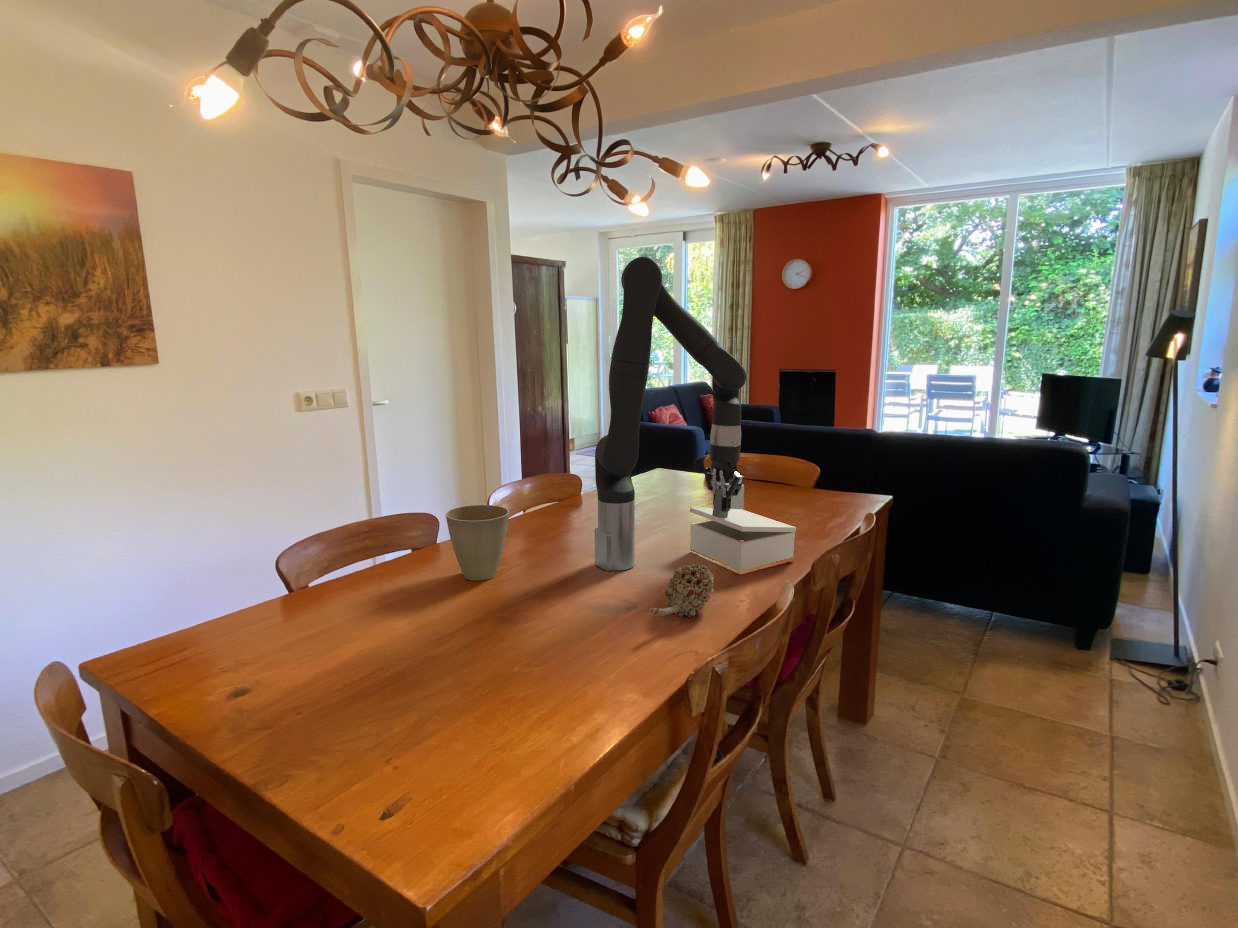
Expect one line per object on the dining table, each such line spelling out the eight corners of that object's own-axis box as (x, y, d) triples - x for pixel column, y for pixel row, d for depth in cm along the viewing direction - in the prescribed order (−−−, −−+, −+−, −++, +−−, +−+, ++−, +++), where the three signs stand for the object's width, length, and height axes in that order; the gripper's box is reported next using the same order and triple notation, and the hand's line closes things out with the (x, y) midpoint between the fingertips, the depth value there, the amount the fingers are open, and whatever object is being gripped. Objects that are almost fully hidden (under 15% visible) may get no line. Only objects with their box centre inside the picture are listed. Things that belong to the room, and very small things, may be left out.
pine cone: (681, 595, 147) (682, 553, 145) (721, 603, 142) (723, 560, 140) (635, 633, 128) (635, 586, 126) (679, 645, 124) (680, 595, 122)
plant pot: (497, 589, 151) (495, 522, 147) (438, 584, 153) (434, 518, 150) (520, 566, 165) (518, 505, 162) (465, 562, 168) (462, 502, 165)
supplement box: (741, 519, 207) (742, 480, 204) (743, 526, 200) (744, 485, 197) (717, 518, 208) (718, 480, 205) (718, 525, 200) (719, 485, 198)
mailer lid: (741, 531, 157) (747, 497, 156) (689, 511, 174) (694, 481, 173) (795, 532, 167) (801, 500, 166) (741, 513, 184) (745, 484, 183)
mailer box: (740, 575, 159) (741, 543, 158) (689, 552, 176) (690, 523, 174) (793, 561, 168) (794, 532, 167) (740, 541, 185) (741, 513, 184)
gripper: (696, 439, 167) (692, 505, 170) (732, 447, 155) (728, 518, 158) (718, 437, 170) (715, 502, 174) (756, 445, 159) (751, 514, 162)
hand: (721, 509), depth 166 cm, fingers closed on mailer lid, 2 cm apart
